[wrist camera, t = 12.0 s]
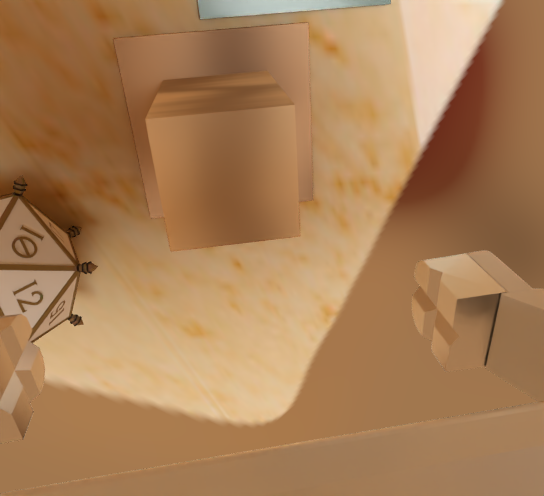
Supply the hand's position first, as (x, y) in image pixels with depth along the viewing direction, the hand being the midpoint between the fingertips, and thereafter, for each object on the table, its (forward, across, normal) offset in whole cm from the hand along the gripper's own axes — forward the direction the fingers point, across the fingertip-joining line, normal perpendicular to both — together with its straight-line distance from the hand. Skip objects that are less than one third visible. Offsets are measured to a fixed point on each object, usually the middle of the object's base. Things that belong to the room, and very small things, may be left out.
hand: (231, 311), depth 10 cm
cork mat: (+16, -1, 0) cm, 16 cm away
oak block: (+16, -1, 0) cm, 16 cm away
